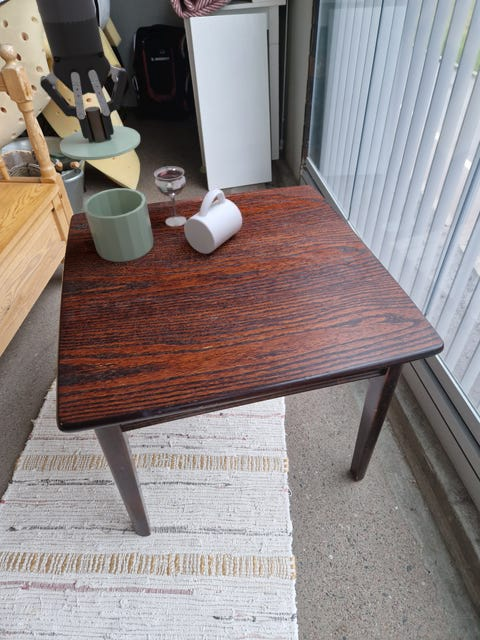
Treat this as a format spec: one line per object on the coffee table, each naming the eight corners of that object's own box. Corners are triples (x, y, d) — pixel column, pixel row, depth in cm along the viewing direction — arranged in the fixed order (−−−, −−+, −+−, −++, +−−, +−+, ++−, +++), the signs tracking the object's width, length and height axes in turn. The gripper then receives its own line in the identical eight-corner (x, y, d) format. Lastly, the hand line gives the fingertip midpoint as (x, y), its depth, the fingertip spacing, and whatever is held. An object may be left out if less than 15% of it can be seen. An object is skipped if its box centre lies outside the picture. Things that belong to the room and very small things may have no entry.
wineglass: (157, 218, 102) (149, 170, 93) (183, 211, 104) (177, 163, 96) (168, 231, 97) (160, 182, 89) (194, 223, 100) (189, 175, 91)
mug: (185, 247, 93) (179, 197, 84) (214, 226, 99) (210, 177, 90) (215, 259, 89) (211, 208, 81) (243, 236, 95) (242, 187, 87)
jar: (100, 267, 88) (86, 223, 81) (94, 236, 96) (81, 194, 89) (158, 254, 91) (150, 210, 84) (147, 226, 99) (139, 184, 92)
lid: (63, 169, 66) (49, 129, 62) (60, 138, 76) (48, 101, 71) (147, 156, 69) (140, 116, 65) (134, 128, 78) (127, 91, 74)
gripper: (15, 23, 55) (58, 153, 68) (121, 14, 58) (144, 140, 71) (17, 14, 60) (56, 137, 73) (114, 6, 63) (137, 125, 76)
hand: (99, 138), depth 71 cm, fingers closed on lid, 2 cm apart
